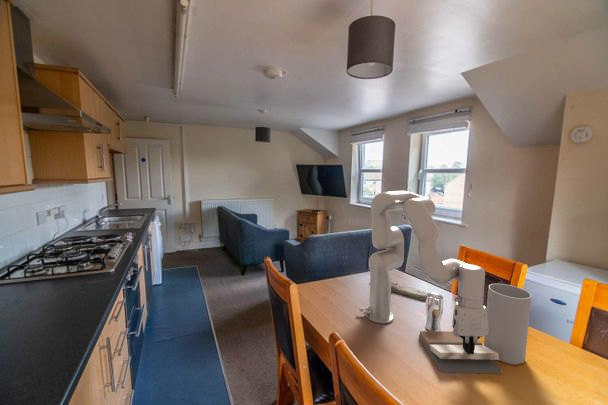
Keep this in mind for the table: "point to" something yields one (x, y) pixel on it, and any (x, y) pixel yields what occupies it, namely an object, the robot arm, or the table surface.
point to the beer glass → (434, 311)
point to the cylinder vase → (508, 322)
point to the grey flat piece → (455, 364)
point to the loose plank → (463, 352)
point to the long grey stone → (408, 291)
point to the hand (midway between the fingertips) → (468, 351)
